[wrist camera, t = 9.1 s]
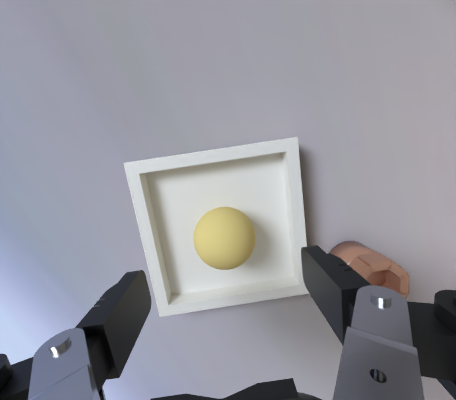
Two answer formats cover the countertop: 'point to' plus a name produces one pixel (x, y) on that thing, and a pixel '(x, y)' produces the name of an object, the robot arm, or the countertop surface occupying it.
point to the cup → (373, 266)
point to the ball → (224, 238)
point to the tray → (213, 198)
